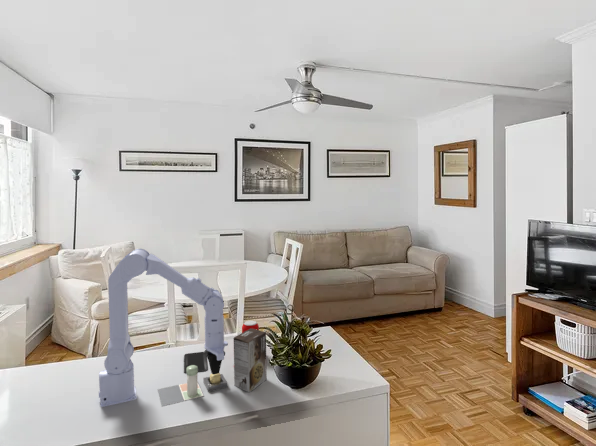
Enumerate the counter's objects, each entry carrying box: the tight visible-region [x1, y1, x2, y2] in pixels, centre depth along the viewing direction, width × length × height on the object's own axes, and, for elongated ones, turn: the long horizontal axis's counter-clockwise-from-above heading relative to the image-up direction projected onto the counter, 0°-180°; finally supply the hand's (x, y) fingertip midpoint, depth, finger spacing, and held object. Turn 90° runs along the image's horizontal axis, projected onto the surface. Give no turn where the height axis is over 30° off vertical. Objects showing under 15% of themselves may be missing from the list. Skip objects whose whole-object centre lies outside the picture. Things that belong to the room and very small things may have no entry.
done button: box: [209, 372, 221, 385], centre depth 120 cm, size 3×3×2 cm
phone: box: [183, 351, 209, 375], centre depth 135 cm, size 8×1×15 cm
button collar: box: [203, 373, 228, 393], centre depth 120 cm, size 6×6×2 cm
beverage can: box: [241, 320, 260, 333], centre depth 143 cm, size 6×6×12 cm
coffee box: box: [233, 328, 267, 393], centre depth 122 cm, size 9×6×16 cm
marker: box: [186, 365, 199, 397], centre depth 114 cm, size 3×3×8 cm
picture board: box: [157, 382, 205, 407], centre depth 116 cm, size 12×10×1 cm
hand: (215, 372), depth 120 cm, fingers closed
